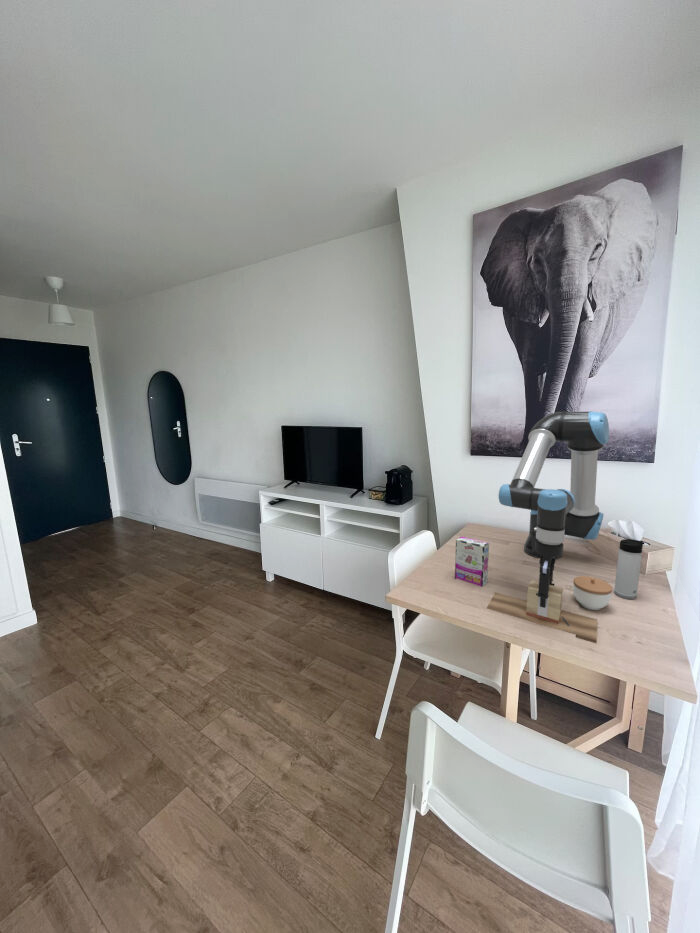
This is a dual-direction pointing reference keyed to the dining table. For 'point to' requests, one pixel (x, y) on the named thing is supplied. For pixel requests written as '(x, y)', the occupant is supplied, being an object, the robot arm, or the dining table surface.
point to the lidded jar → (591, 592)
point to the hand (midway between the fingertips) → (543, 610)
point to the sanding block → (553, 602)
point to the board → (567, 622)
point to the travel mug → (628, 568)
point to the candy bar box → (472, 561)
